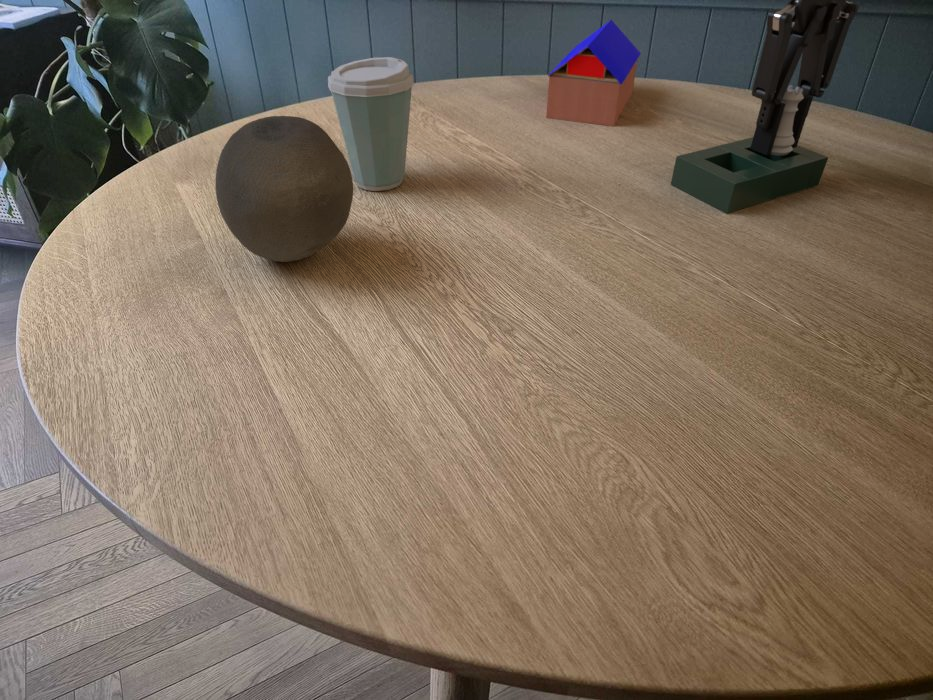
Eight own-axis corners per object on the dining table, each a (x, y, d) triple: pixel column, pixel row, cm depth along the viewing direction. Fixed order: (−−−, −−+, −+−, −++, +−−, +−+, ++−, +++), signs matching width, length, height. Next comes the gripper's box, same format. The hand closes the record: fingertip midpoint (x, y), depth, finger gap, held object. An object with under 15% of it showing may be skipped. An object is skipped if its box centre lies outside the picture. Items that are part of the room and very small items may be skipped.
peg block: (759, 160, 96) (767, 133, 94) (818, 185, 89) (828, 157, 87) (670, 184, 89) (676, 155, 87) (726, 213, 82) (735, 183, 80)
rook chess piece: (792, 147, 89) (812, 85, 84) (790, 158, 86) (810, 95, 81) (758, 142, 90) (775, 81, 86) (754, 153, 87) (772, 90, 82)
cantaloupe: (214, 289, 68) (176, 147, 59) (251, 225, 79) (223, 97, 70) (351, 290, 68) (334, 149, 59) (368, 226, 79) (356, 99, 70)
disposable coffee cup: (357, 205, 84) (345, 82, 74) (326, 175, 91) (311, 60, 82) (431, 187, 88) (428, 69, 79) (396, 160, 95) (389, 49, 86)
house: (543, 117, 110) (549, 42, 103) (571, 84, 125) (577, 16, 118) (615, 127, 107) (626, 50, 100) (634, 91, 122) (645, 22, 114)
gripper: (853, -64, 80) (793, 128, 94) (753, -55, 73) (705, 150, 87) (913, -57, 75) (840, 145, 89) (811, -47, 68) (750, 170, 82)
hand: (773, 147), depth 88 cm, fingers closed on rook chess piece, 4 cm apart
